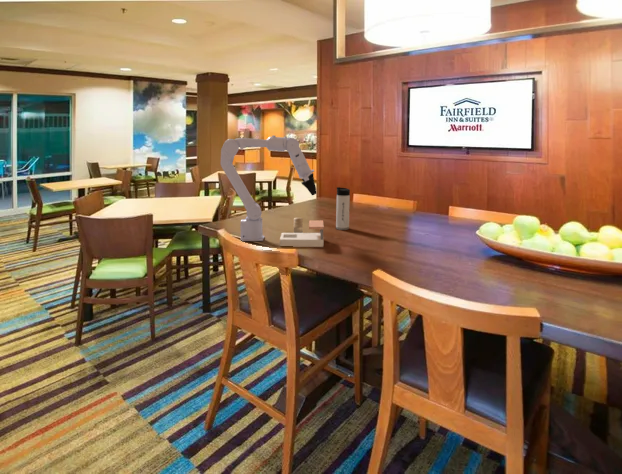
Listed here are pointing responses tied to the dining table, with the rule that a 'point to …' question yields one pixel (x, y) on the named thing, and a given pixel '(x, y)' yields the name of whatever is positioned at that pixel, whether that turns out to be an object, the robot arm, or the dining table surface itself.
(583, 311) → the dining table surface
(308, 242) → the socket block
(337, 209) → the travel mug
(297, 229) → the peg
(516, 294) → the dining table surface
